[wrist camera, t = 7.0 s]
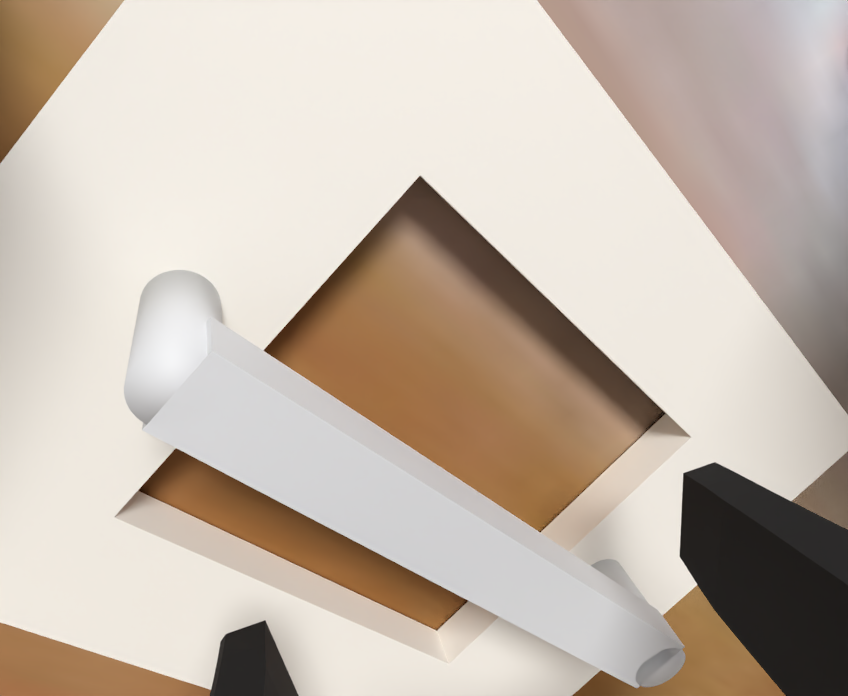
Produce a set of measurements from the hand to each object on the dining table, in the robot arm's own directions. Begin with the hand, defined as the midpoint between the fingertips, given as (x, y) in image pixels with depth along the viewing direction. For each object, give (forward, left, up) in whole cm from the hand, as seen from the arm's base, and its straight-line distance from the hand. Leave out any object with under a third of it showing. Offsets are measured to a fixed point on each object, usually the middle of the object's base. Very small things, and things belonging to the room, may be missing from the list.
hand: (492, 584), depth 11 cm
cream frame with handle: (0, 0, -4) cm, 4 cm away
